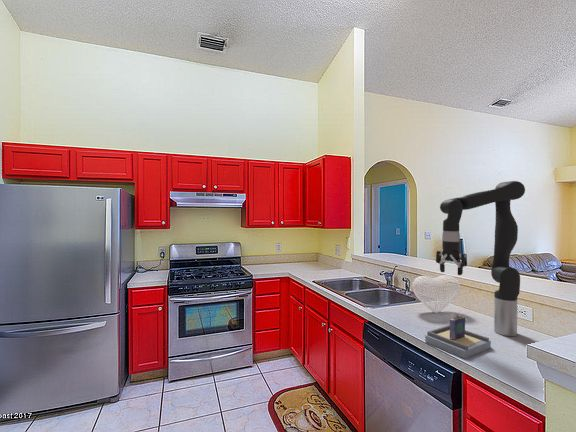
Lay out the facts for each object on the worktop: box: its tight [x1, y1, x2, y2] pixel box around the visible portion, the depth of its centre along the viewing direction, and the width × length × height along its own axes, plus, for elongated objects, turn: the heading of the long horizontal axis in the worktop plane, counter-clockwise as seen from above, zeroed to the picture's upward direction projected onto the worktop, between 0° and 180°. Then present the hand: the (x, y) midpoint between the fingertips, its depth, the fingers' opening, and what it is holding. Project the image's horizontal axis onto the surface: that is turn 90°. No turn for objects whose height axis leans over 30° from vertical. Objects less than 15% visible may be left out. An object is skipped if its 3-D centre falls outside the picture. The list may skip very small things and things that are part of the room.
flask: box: [449, 313, 466, 340], centre depth 134 cm, size 9×3×11 cm, turn 117°
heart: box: [411, 274, 461, 314], centre depth 177 cm, size 28×16×22 cm, turn 98°
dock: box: [424, 324, 492, 359], centre depth 134 cm, size 20×18×4 cm
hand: (450, 273), depth 145 cm, fingers open, 8 cm apart
